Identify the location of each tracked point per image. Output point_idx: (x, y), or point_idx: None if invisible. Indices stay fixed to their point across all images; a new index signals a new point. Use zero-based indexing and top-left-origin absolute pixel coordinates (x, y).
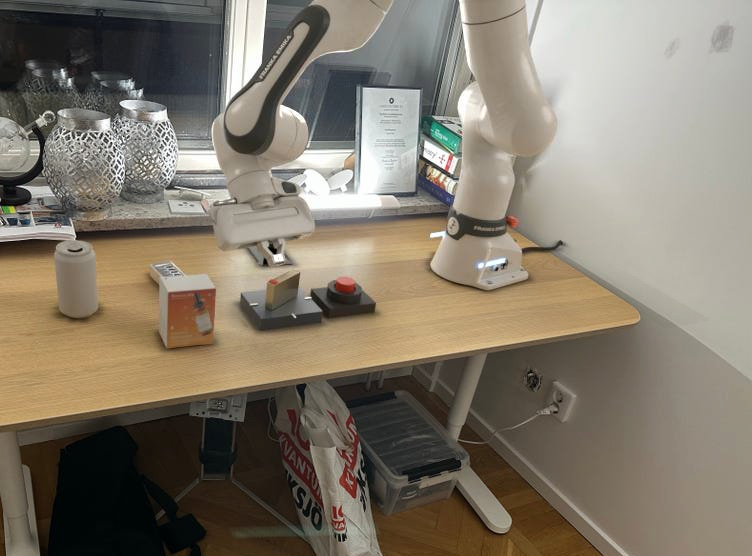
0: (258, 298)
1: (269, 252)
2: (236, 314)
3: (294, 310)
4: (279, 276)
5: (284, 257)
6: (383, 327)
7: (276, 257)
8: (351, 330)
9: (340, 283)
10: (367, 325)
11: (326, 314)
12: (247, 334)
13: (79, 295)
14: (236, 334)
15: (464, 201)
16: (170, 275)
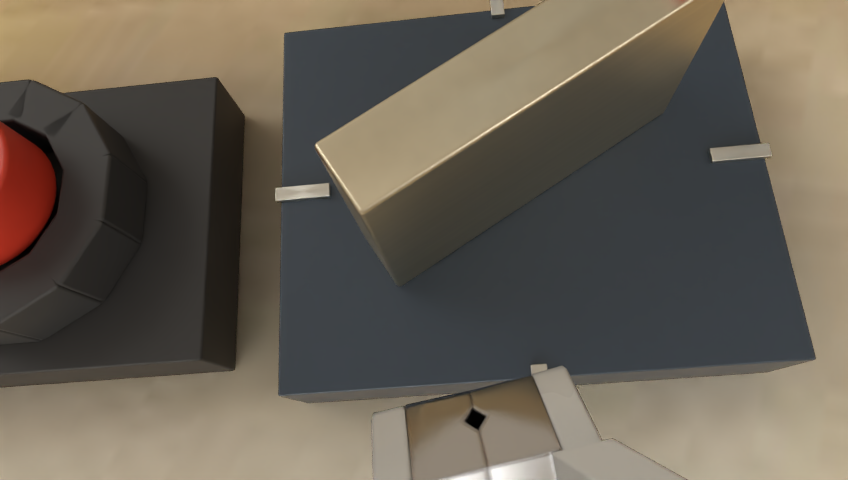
0: (681, 241)
1: (624, 472)
2: (810, 243)
3: None
4: (581, 61)
5: (381, 441)
6: (4, 11)
7: (505, 431)
8: (182, 3)
9: (3, 138)
10: (71, 36)
11: (237, 133)
12: (771, 26)
13: None
14: (838, 32)
15: None
16: None
